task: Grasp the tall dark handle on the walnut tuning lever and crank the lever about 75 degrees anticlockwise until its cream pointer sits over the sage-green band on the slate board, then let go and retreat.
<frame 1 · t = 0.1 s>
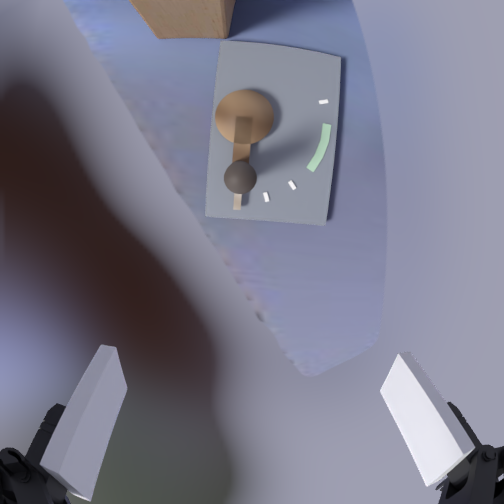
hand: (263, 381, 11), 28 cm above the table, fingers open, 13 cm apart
wooden block: (197, 12, 26), on the table
board: (274, 129, 33), on the table
dial: (242, 147, 28), point 6 cm above the table, hinge at 0.0°
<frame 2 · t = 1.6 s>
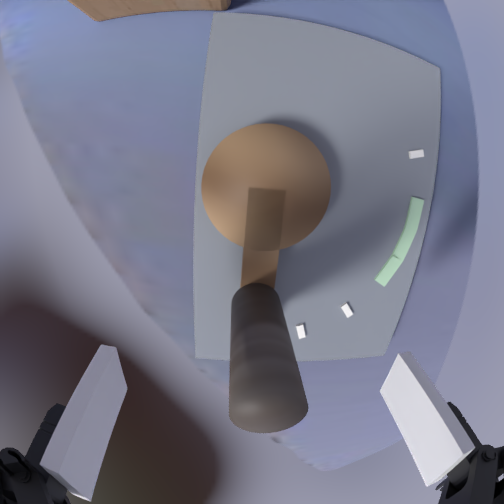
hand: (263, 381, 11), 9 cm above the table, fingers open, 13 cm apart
board: (321, 204, 18), on the table
dial: (266, 290, 12), point 6 cm above the table, hinge at 0.0°
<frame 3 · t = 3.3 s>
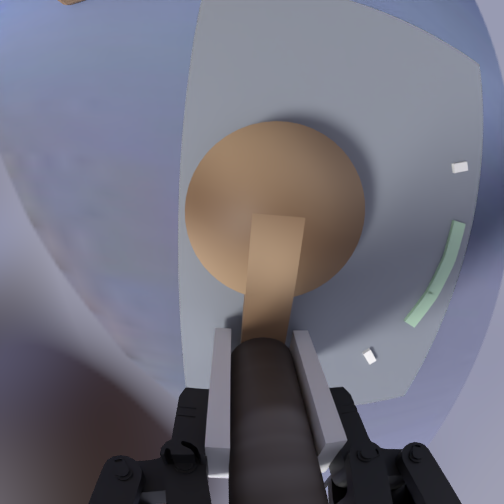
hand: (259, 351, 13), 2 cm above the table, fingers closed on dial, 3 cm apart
board: (345, 230, 13), on the table
dial: (279, 368, 8), point 6 cm above the table, hinge at 0.0°, touching gripper
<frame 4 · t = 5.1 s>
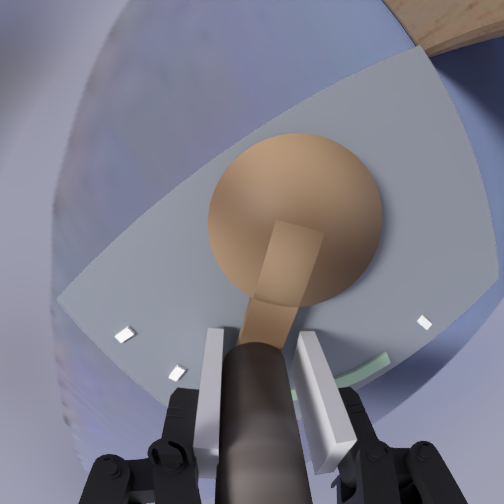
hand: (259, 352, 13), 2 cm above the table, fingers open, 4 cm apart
board: (313, 285, 14), on the table
dial: (282, 375, 8), point 6 cm above the table, hinge at 40.6°, touching gripper
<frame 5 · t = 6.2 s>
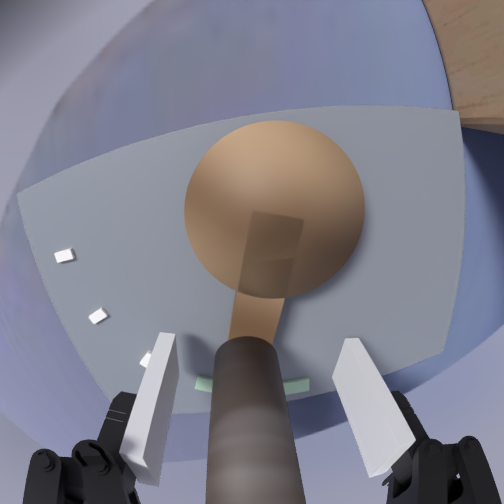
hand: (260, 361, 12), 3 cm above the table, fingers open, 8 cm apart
wooden block: (481, 68, 10), on the table
board: (263, 282, 14), on the table
dial: (266, 368, 8), point 6 cm above the table, hinge at 69.3°
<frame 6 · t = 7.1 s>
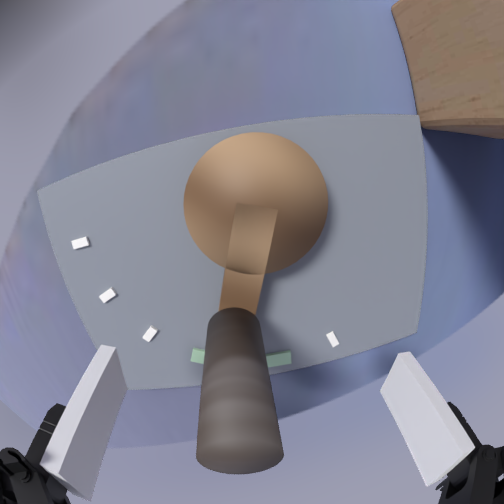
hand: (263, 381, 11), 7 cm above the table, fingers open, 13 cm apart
wooden block: (449, 73, 13), on the table
board: (248, 265, 17), on the table
dial: (246, 322, 11), point 6 cm above the table, hinge at 69.3°
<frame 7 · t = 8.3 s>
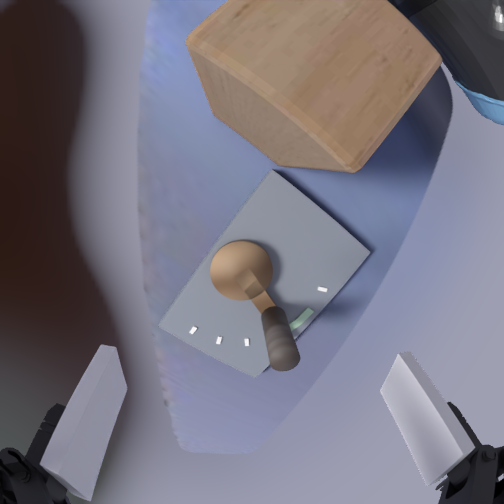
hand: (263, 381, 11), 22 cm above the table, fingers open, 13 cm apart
wooden block: (273, 108, 28), on the table
board: (261, 287, 34), on the table
dial: (264, 315, 28), point 6 cm above the table, hinge at 69.3°
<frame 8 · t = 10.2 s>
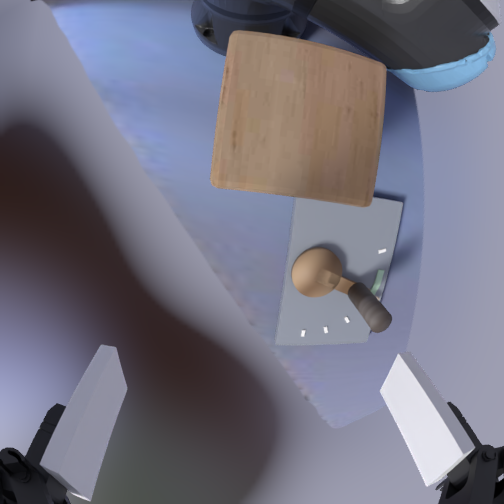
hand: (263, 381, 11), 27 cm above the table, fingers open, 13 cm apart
wooden block: (268, 137, 33), on the table
board: (337, 273, 39), on the table
dial: (350, 297, 33), point 6 cm above the table, hinge at 69.3°
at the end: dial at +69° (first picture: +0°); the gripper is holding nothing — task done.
